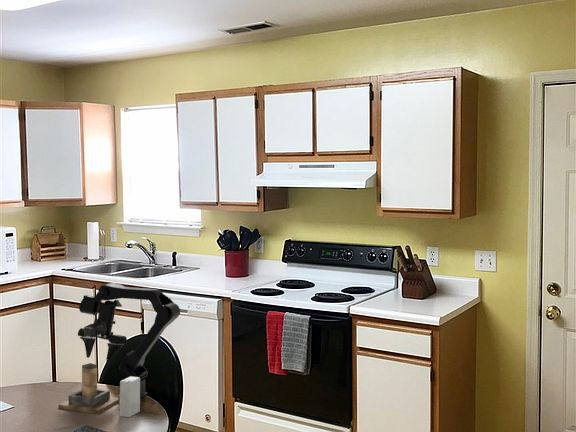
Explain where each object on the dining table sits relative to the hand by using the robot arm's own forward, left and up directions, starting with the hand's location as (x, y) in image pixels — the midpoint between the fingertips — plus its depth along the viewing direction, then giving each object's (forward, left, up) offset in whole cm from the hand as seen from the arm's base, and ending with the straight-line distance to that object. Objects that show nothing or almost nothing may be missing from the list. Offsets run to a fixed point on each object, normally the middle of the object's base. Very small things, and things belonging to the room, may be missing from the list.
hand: (97, 359), depth 239 cm
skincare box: (-21, +13, -13) cm, 28 cm away
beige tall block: (-3, +10, -12) cm, 16 cm away
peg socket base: (-3, +10, -13) cm, 17 cm away
